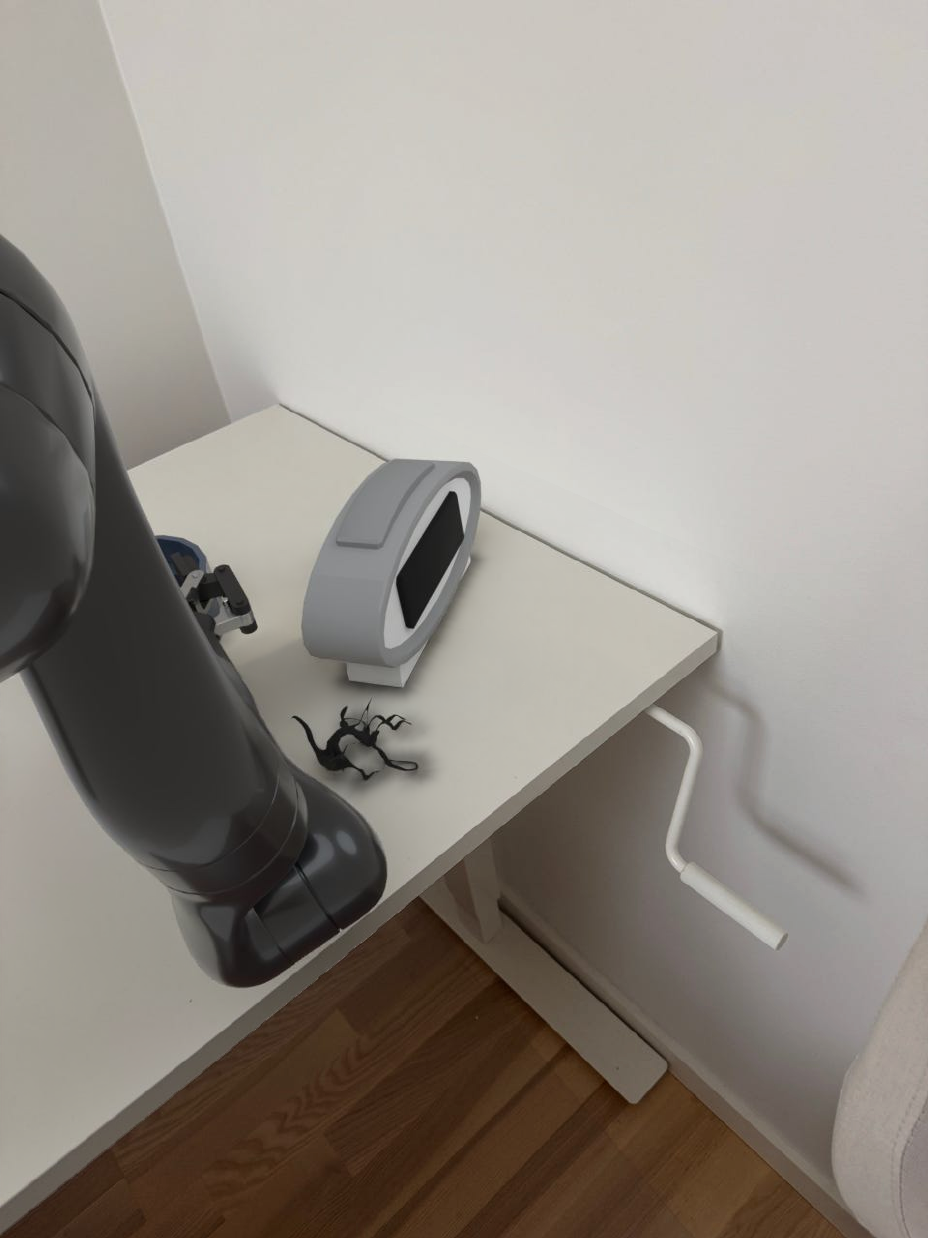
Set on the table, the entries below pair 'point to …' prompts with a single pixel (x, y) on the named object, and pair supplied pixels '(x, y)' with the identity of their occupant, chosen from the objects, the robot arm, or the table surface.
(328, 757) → the creature
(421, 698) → the table surface
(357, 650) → the alarm clock
